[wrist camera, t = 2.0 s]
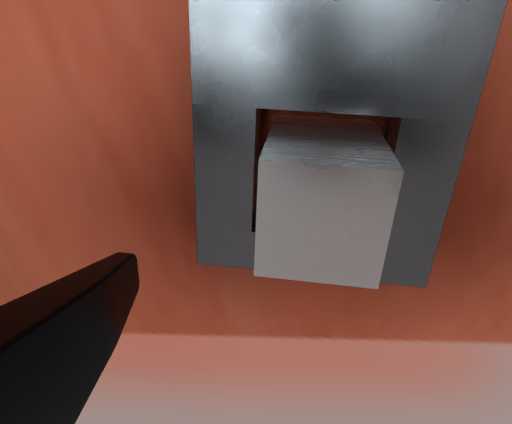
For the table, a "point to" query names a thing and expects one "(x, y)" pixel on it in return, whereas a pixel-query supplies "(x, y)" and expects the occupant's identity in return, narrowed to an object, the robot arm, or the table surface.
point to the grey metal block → (325, 201)
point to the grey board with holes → (336, 104)
